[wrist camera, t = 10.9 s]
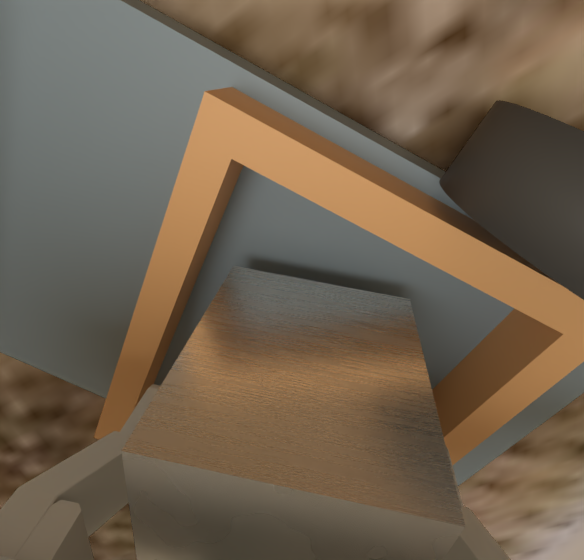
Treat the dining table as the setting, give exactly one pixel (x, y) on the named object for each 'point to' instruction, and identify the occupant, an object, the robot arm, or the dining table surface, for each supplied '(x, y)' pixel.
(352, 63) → the dining table surface
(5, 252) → the chassis
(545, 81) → the dining table surface
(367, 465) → the block
